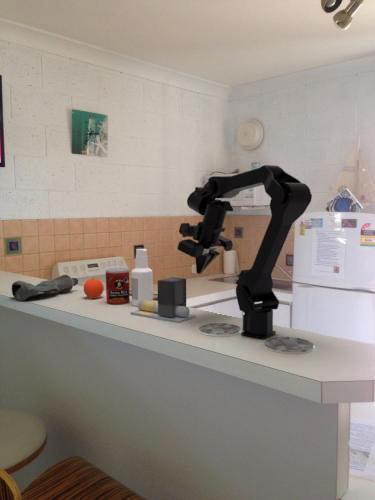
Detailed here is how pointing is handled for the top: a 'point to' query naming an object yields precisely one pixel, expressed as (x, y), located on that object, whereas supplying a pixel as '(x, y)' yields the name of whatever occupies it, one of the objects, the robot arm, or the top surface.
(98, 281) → the clementine
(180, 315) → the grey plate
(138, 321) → the top surface
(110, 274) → the canned food
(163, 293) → the sleeve
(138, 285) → the spray bottle
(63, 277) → the crushed bottle
